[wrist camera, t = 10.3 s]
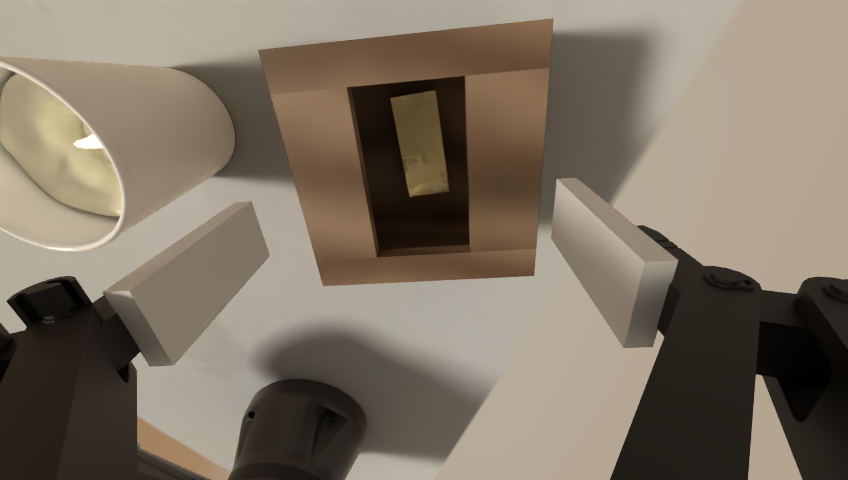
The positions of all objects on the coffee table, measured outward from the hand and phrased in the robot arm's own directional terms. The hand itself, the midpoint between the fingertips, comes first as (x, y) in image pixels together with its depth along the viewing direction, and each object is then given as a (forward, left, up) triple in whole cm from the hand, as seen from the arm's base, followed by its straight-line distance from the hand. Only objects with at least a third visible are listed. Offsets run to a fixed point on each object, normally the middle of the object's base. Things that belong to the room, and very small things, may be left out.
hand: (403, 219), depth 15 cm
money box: (0, 0, -14) cm, 14 cm away
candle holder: (+3, +19, -14) cm, 24 cm away
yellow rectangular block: (+1, 0, -14) cm, 14 cm away
